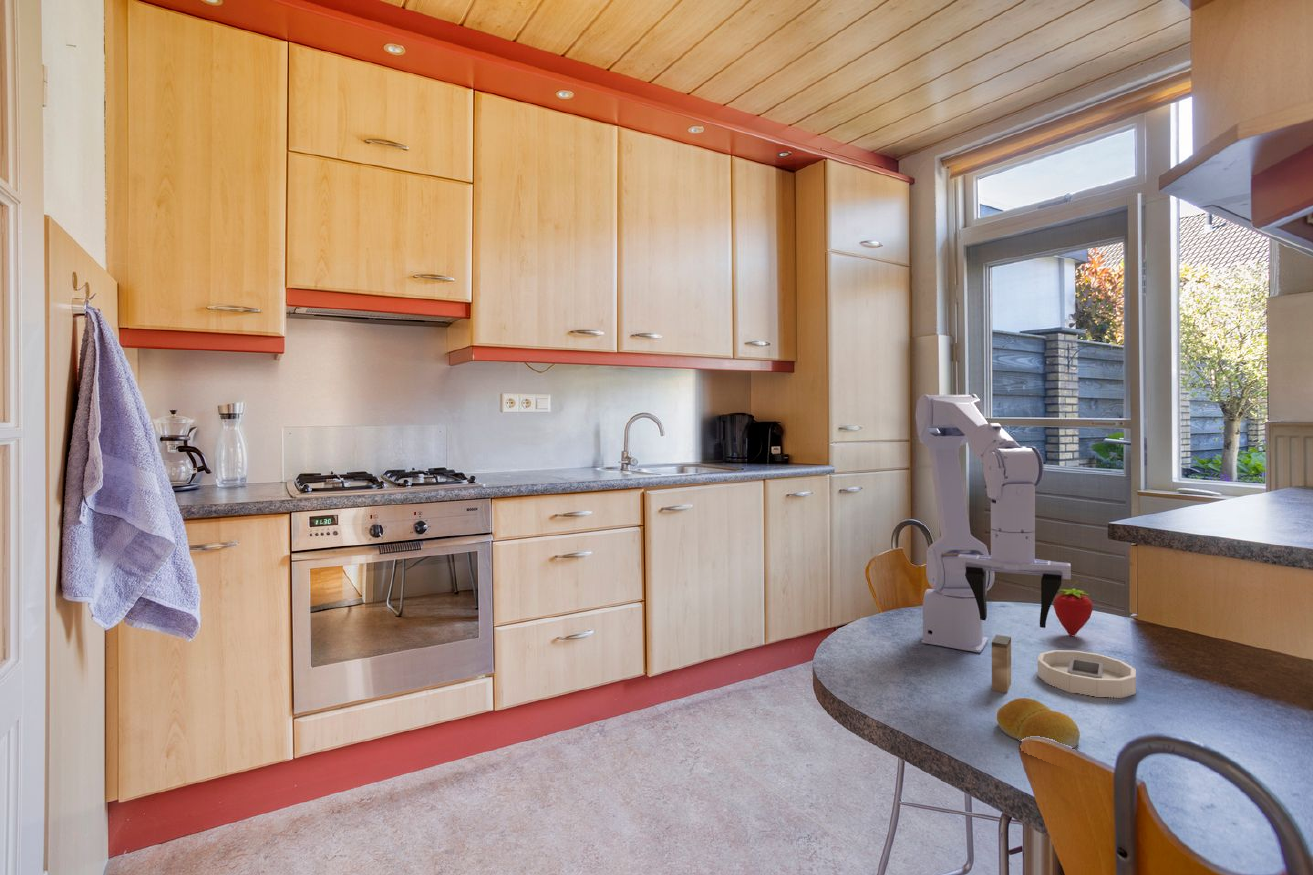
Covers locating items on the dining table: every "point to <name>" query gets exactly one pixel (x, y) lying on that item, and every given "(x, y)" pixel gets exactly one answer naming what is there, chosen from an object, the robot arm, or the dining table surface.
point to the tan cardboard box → (1001, 663)
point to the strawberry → (1073, 609)
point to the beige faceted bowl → (1087, 673)
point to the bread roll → (1036, 722)
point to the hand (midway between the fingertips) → (1012, 622)
